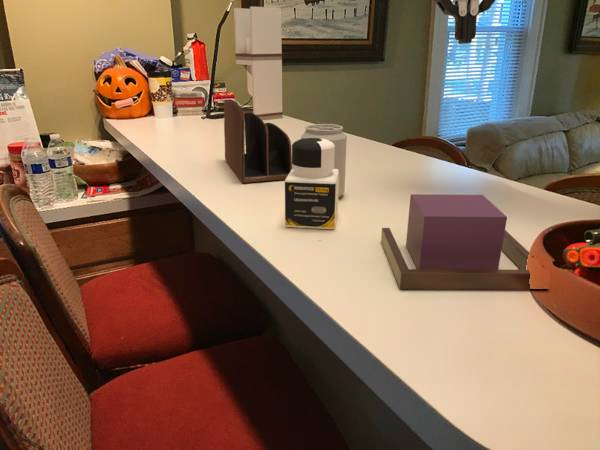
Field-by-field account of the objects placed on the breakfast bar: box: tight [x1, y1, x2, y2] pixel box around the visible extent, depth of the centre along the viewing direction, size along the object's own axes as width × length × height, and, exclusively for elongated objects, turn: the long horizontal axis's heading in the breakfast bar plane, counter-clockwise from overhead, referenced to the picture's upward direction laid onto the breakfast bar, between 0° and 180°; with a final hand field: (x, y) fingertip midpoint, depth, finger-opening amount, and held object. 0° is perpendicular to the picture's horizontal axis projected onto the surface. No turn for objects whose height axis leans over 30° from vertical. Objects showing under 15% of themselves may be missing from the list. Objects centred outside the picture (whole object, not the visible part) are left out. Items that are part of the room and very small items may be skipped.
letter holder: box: [223, 98, 292, 185], centre depth 95 cm, size 10×20×14 cm, turn 18°
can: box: [300, 123, 348, 199], centre depth 79 cm, size 8×8×12 cm
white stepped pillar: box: [233, 6, 283, 121], centre depth 159 cm, size 11×11×35 cm
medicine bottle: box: [284, 138, 339, 230], centre depth 68 cm, size 7×7×12 cm
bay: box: [380, 227, 531, 291], centre depth 56 cm, size 16×13×2 cm
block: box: [405, 193, 508, 270], centre depth 56 cm, size 9×8×7 cm
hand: (465, 43), depth 74 cm, fingers closed
